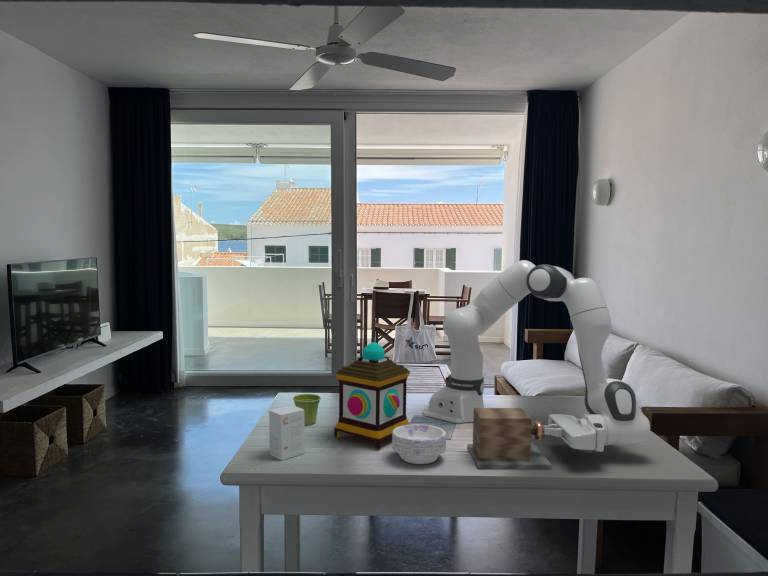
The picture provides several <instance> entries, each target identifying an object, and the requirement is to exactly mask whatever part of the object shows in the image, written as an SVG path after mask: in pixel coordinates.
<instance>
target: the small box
mask: <svg viewBox="0 0 768 576" xmlns="http://www.w3.org/2000/svg"><path fill="white" fill-rule="evenodd" d="M268 419H269V420H268V421H269V422H268V425H269V426H268V428H269V432H268V433H269V434H268V435H269V456H272V457H274V459H275V458H276V459H278V460H279V461H285V460H288V459H291V458H294V457H297V456H302V455H305V452H306V451H305V449H306V448H305V440H306V439H305V433H306V432H305V425H304V409H301V408H299V407H296V406H295V405H288V406H287V405H286V406H282V407H279V408H275V409H270V410H269V411H268Z"/></svg>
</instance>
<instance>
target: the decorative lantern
mask: <svg viewBox="0 0 768 576" xmlns="http://www.w3.org/2000/svg"><path fill="white" fill-rule="evenodd" d="M410 373H411V371H410V370H409V369H408V368H407V367H405V366H404V365H403V364H399V363H398V364H397V363H396V362H394V361H393V360H392V359H390V357H389V356H386V355H385V349H384V348H383V347H382V346H381V345H380V343H378V342H374V341H373V342H370V343H368V344H367V345H366V346H365V347H364V348H363V350H362V356H359V357H357V360H355V361H354V362H353V363H350V364H348V365H345V366H343V367H342V368H340V369H339V370H338V371H337V372H336V373H335V374H336V375H335V376H336V378H337V379H338V383H339V385H338V387H339V389H338V392H339V393H338V396H339V397H338V420H337V422H336V425H335V427H334V431H333V433H334V438H335V439H338V438H339V439H340V438H341V433H345V434H349V435H353V436H357V437H360V438H365V439H367V440H372V441H374V443H375V448H376V450H377V451H379V450H380V449H381V448H382V447H381V446H382V443H383V441H384V440H386V439H387V438H390V437H392V431H393V430H394V429H395V428H397V427H399V426H403V425H410V422H409V420H408V418H407V380H408V377H409V376H410ZM339 439H338V440H339Z"/></svg>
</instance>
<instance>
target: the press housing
mask: <svg viewBox="0 0 768 576" xmlns="http://www.w3.org/2000/svg"><path fill="white" fill-rule="evenodd" d="M472 426H473V427H472V443H467V447H466V448H467V450H468V452H469V454H470V456H471V458H472V460H473V462H474V464H475V466H476V468H477V469H478V470H552V467H553V465H552V463H551V462H550V461H549V460H548V458H546V456H545V455H544V454H543V452H542V451H541V450H540V449H539V448H538V446H536V444H535V443H532V442H531V441H532V435H531V426H532V417H530V415H529V414H528V413H527V411H525V410H524V409H523V408H522V407H484V408H474V416H473V422H472Z"/></svg>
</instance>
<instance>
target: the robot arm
mask: <svg viewBox="0 0 768 576" xmlns="http://www.w3.org/2000/svg"><path fill="white" fill-rule="evenodd" d="M529 294H532V295H533V296H534V297H536V298H538V299H543V300H544V301H545V300H546V301H548V302H558V303H564V304H565V306H566V308H567V310H568V314H569V317H570V321H571V324H572V328H573V331H574V335H575V339H576V341H575V342H576V345H577V346H576V347H577V350H578V356H579V361H580V365H581V371H582V376H583V380H584V381H583V382H584V385H585V387H584V388H585V390H584V391H585V392H584V393H585V394H584V406H585V408H586V411H587V412H588V414H585V413H584V414H582V415H581V417H580V418H577V417H576V416H574V415H572V414H559V413H551V414H549V415H548V420H547V421H548V423H547V424H548V425H543V426H544V436H552V437H557V438H561V439H562V441H564V442H565V443H566V445H568V446H569V448H571V449H575V450H580V451H581V450H583V451H585V450H586V451H593V450H594V451H595V452H598V453H599V452H602V453H603V452H604V450H605V449H604V448H605V447H607V446H616V447H631V446H632V447H633V446H639V445H642V444H644V443H646V442H647V440H648V439H649V437H650V434H651V424H650V420H649V418H648V417H647V416H646V415H645V414H644V413H643V412H642V410H641V408H640V406H639V404H638V402H637V397H636V393H635V391H634V389H633V388H632V387H631V386H630V385H629V384H628V383H626V382H624V381H622V380H620V381H614V382H610V383H607V381H606V378H607V376H606V373H605V368H604V364H603V359H602V357H603V356H602V353H603V348H604V345H605V343H606V342H607V341H608V338H609V336H611V333H612V328H613V327H612V318H611V315H610V311H609V309H608V306H607V303H606V300H605V298H604V295H603V293H602V291H601V289H600V287H599V286H598V283H597V282H596V281H595V280H593V278H590V277H579V278H576V277H575V276H574V274H573V273H572V272H570V271H569V270H566V269H564V268H563V267H560V266H556V265H551V264H547V263H545V264H544V263H543V264H538V265H535V264H534V263H533V262H531V261H529V260H526V259H524V260H523V259H522V260H519V261H517V262H515V263H514V264H512V265H510V266H508V267H507V268H506V269H505V270H503V271H502V272H500V273H499V274H498V275H497V276H496V277H494V278H493V280H491V281H489V282H488V284H486V285H485V286H484V287H483V288H482V289H481V290H480V291H479V293H478V294H477V296H476V297H475V298H474V299H473V300H472V301H471V302H470V303H469V304H467V305H465V306H462V307H459V308H458V307H457V308H454V309H452V310H451V311H450V312H449V313H448V314H446V316H445V317H444V319H443V322H442V328H443V329H442V330H443V332H444V334H445V335H446V337H447V341H448V344H449V350H450V358H451V359H450V374H448V376H447V377H445V378H444V383H445V385H444V386H443V387H441V388H440V389H439V390H437V391H436V392H434V393H433V394H432V395H431V396H430V399H429V403H428V406H425V407H424V408H423V409H422V412H421V413H422V415H423V416H424V417H430V418H433V419H437V420H441V421H446V422H450V423H453V424H462V423H463V424H465V423H473V416H474V408H485V406H484V404H485V403H484V395H483V394H484V392H485V391H484V389H485V381H484V380H485V377H484V376H483V372H484V355H483V352H482V351H481V348H480V343H479V336H482V335H483V334H484V333H486V332H487V331H488V330H489V329H490V328H491V327H492V326H493V325H494V324H495V323H496V322H497V321H498V320H500V318H501V317H502V316H503V315H504V314H506V313H507V312H508V311H510V310H511V308H513V307H515V305H517V304H518V303H519V302H520V301H522V300H523V299H524V298H525V297H526V296H527V295H529ZM621 381H622V382H621Z"/></svg>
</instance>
